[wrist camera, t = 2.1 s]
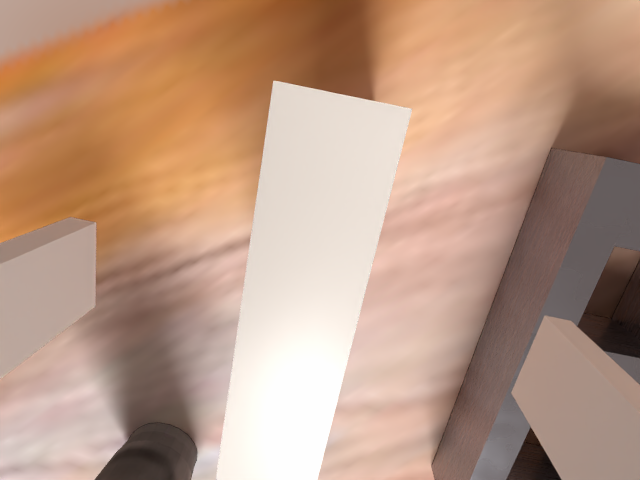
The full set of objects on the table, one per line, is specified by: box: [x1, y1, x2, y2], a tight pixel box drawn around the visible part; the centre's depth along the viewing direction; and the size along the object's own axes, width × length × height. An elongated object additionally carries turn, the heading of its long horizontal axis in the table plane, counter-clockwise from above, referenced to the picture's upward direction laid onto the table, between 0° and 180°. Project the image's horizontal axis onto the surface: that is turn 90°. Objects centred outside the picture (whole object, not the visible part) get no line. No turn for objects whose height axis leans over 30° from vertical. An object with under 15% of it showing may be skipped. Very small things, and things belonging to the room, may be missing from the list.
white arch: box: [216, 81, 412, 480], centre depth 15 cm, size 12×3×10 cm, turn 169°
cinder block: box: [432, 148, 640, 480], centre depth 19 cm, size 8×20×4 cm, turn 169°
